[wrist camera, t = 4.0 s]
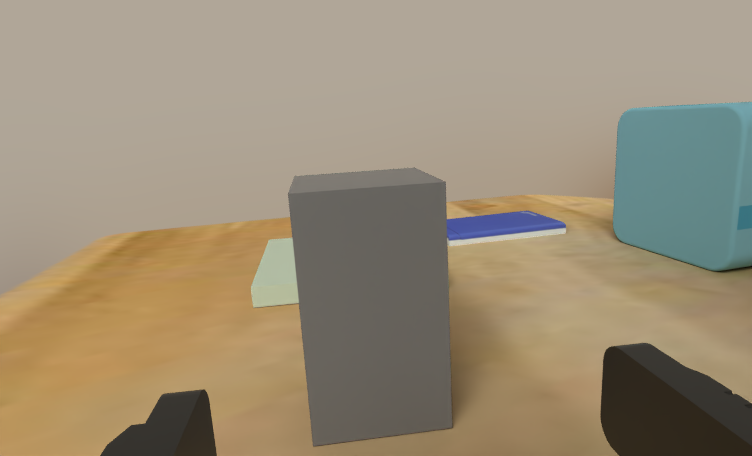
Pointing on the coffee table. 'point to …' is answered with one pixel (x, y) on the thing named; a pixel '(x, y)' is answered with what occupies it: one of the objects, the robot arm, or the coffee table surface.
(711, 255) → the data package
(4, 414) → the coffee table surface
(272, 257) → the pin board
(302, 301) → the block
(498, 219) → the hard drive
